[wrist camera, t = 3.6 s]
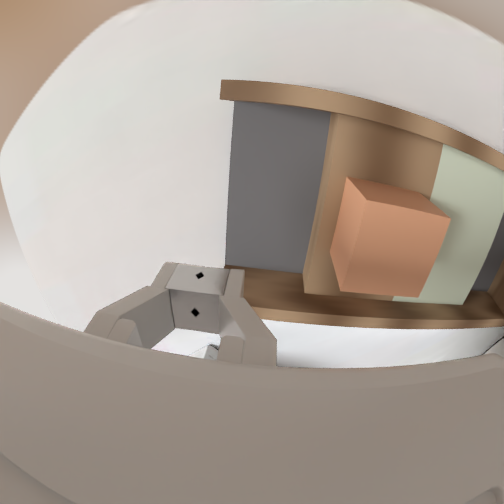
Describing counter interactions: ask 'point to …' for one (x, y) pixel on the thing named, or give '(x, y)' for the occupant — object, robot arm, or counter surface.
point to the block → (385, 239)
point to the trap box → (330, 197)
